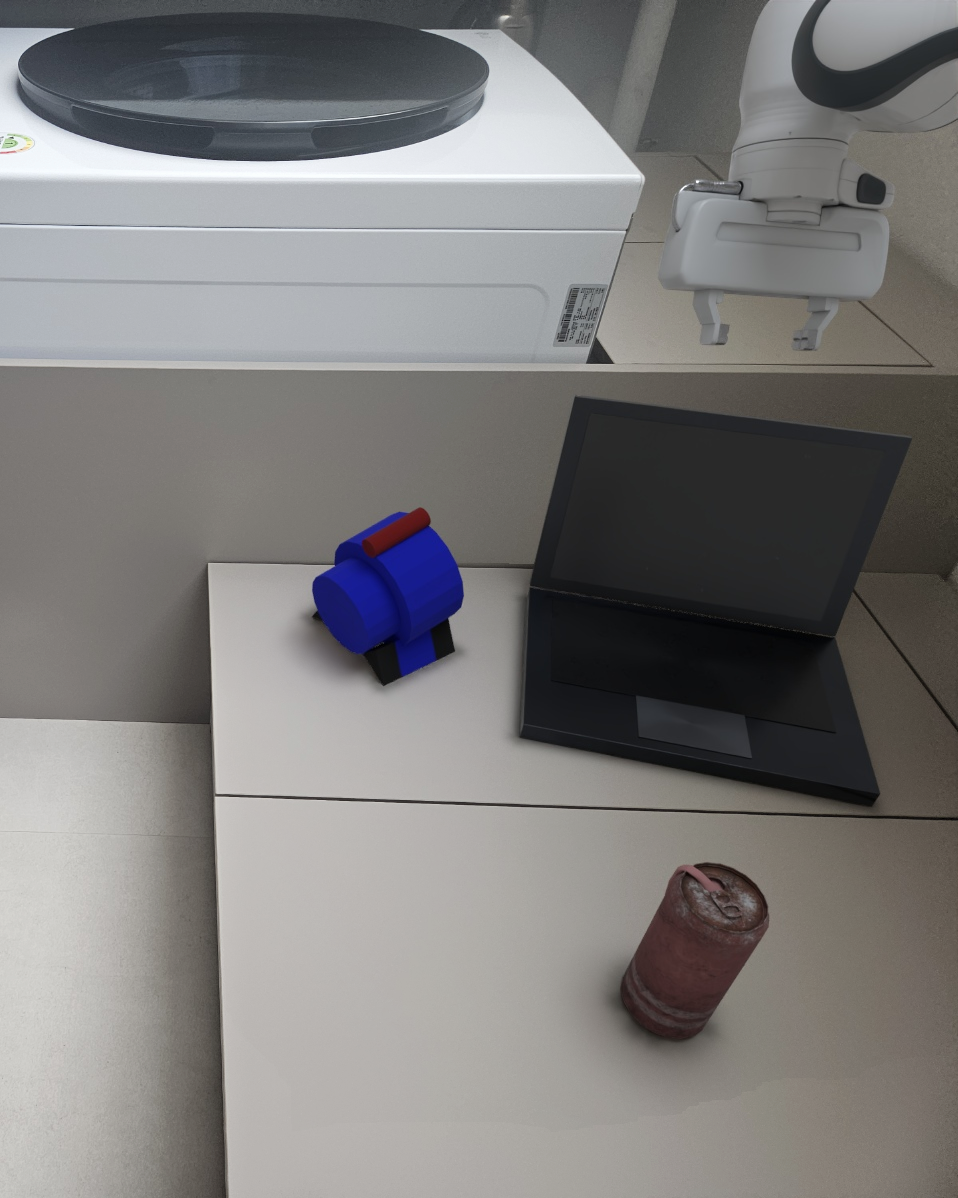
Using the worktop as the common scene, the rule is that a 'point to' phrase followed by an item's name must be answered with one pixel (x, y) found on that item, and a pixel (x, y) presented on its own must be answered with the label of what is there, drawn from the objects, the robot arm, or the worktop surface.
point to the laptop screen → (715, 512)
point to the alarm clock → (392, 595)
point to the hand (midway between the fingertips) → (759, 347)
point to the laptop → (693, 695)
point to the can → (694, 948)
